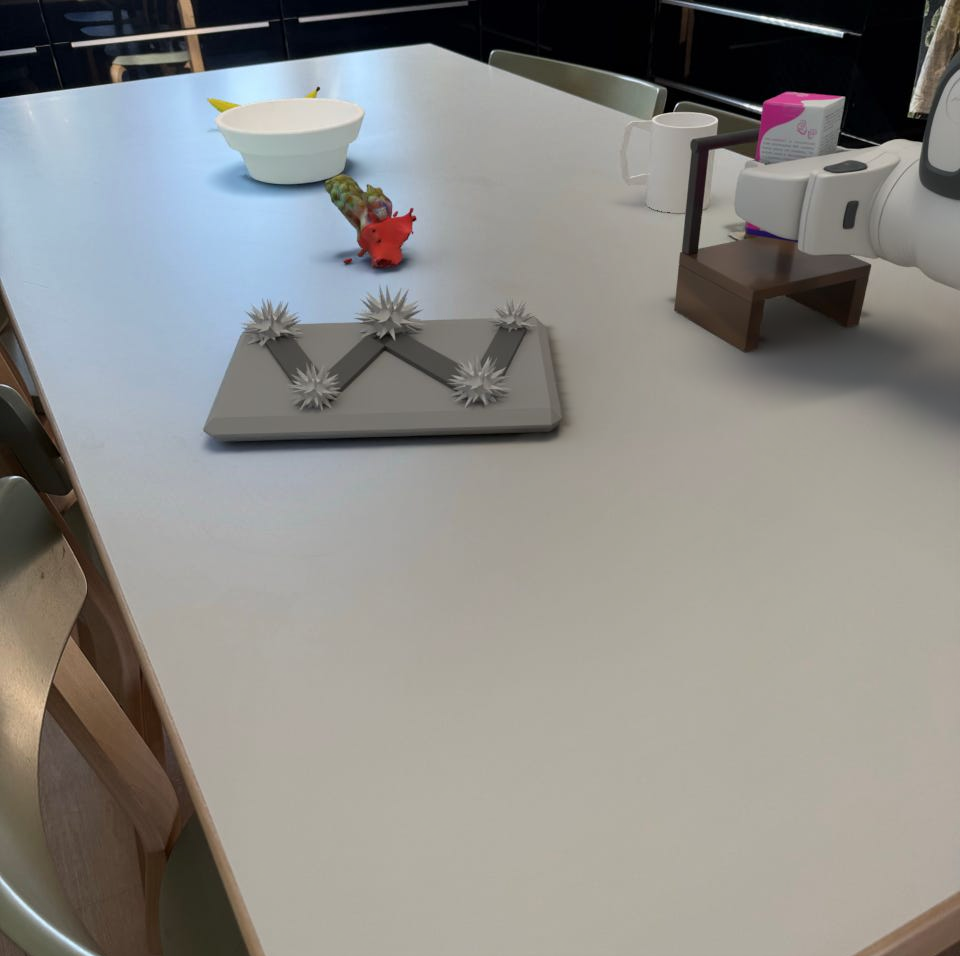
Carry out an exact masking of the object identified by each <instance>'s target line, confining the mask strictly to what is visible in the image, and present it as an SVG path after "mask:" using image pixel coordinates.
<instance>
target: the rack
mask: <svg viewBox="0 0 960 956" xmlns="http://www.w3.org/2000/svg"><path fill="white" fill-rule="evenodd" d="M759 131H760V127H758V128H751V129H746V130H740V131H733V132H728V133H727V132H726V133H721V134H720V133H719V134H717V135H714V136H708V137H702V138H695V139H692V141H691V143H690V148H691V151H692V152H691V162H690V172H689V182H688V192H687V203H686V213H684V222H683V223H684V224H683V226H684V227H683V232H682V233H683V234H682V244H681V252H679V258H678V268H677V279H676V290H675V297H674V298H675V300H674V311H675V312H676V311H677V312H676V313H678V314H680V315H681V314H682V317H685V318H686V317H687V319H689V321H691V320H692V323H695V324H696V325H698V326H700V327H701V328H703V329H705V330H706V331H708V332H710V333H712V334H713V335H715V336H717V337H718V338H719V339H721V340H723V341H725V342H727V343H729V344H730V345H731V346H734V347H735V348H737V349H738V350H739V351H741V352H743V353H747V352H751V351H757V350H759V349H758V348H759V344H760V338H761V337H760V336H761V330H762V323H763V317H764V311H765V304H766V301H768V300H771V299H772V300H773V299H776V298H780V297H784V296H785V297H786V298H788V299H790V300H792V301H794V302H796V303H797V304H799V305H802V306H803V307H806V308H808V309H809V310H812V311H814V312H816V313H817V314H819V315H821V316H823V317H825V318H827V319H830V320H831V321H833V322H835V323H837V324H838V325H841V326H843V327H845V328H849V327H854V326H857V325H860V321H861V317H862V311H863V306H864V301H865V298H866V292H867V288H868V284H869V279H870V275H871V271H872V270H871V269H872V263H870V262H867V261H864V260H862V259H860V258H857V257H855V256H854V255H809V254H806V253H804V252H802V251H800V250H799V249H798V242H792V241H786V240H780V239H774V238H768V237H761V236H759V237H754V238H749V239H744V240H734V241H729V242H725V243H720V244H715V245H710V246H705V247H700V248H699V246H700V236H701V228H702V219H703V211H704V209H703V201H704V192H705V183H706V173H707V164H708V155H709V150H714V149H715V150H720V149H725V148H732V147H737V146H739V147H740V146H744V145H749V144H755V143H757V144H758V138H759Z"/></svg>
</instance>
